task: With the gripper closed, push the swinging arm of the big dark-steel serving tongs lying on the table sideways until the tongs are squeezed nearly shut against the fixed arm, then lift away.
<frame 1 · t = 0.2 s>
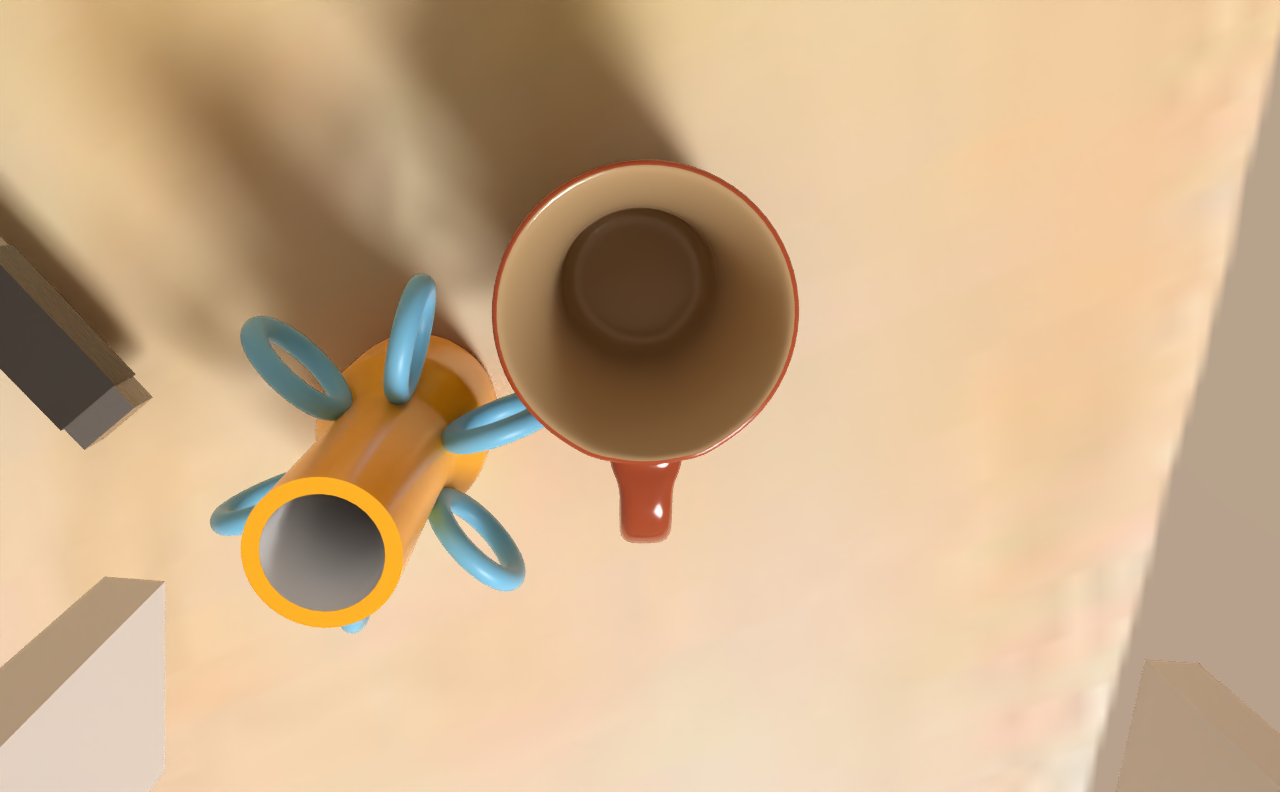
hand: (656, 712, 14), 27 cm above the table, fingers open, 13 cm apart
cylinder: (423, 407, 42), on the table
mug: (635, 315, 41), on the table
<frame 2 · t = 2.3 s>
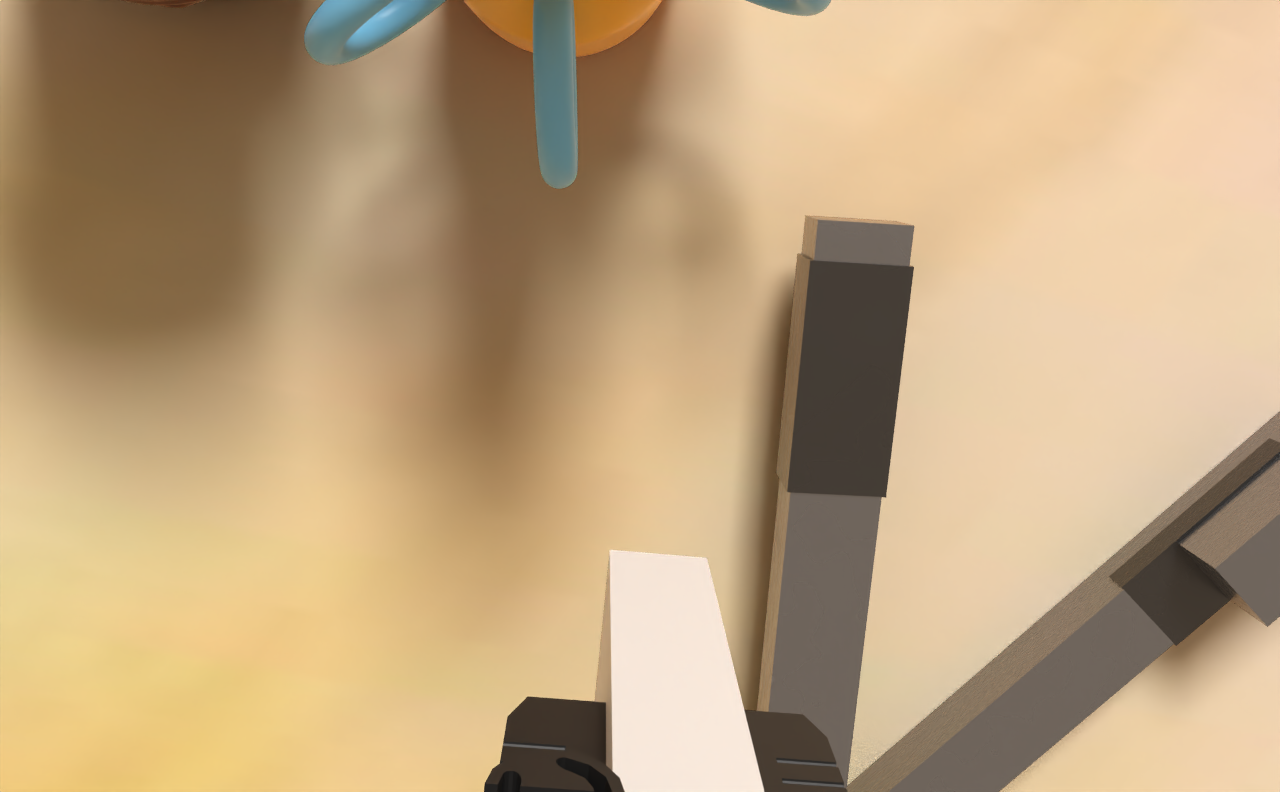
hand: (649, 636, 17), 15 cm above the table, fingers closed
tongs arm: (818, 589, 30), point 3 cm above the table, hinge at 42.0°
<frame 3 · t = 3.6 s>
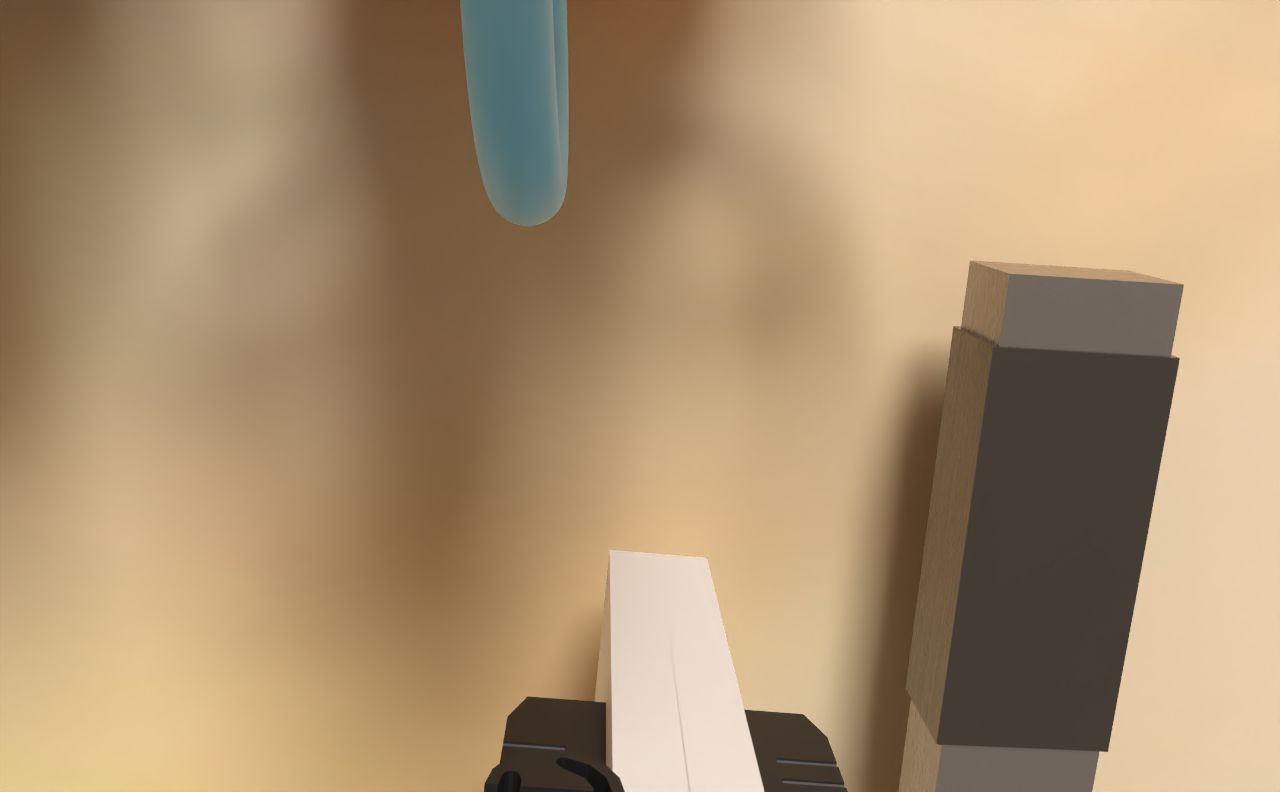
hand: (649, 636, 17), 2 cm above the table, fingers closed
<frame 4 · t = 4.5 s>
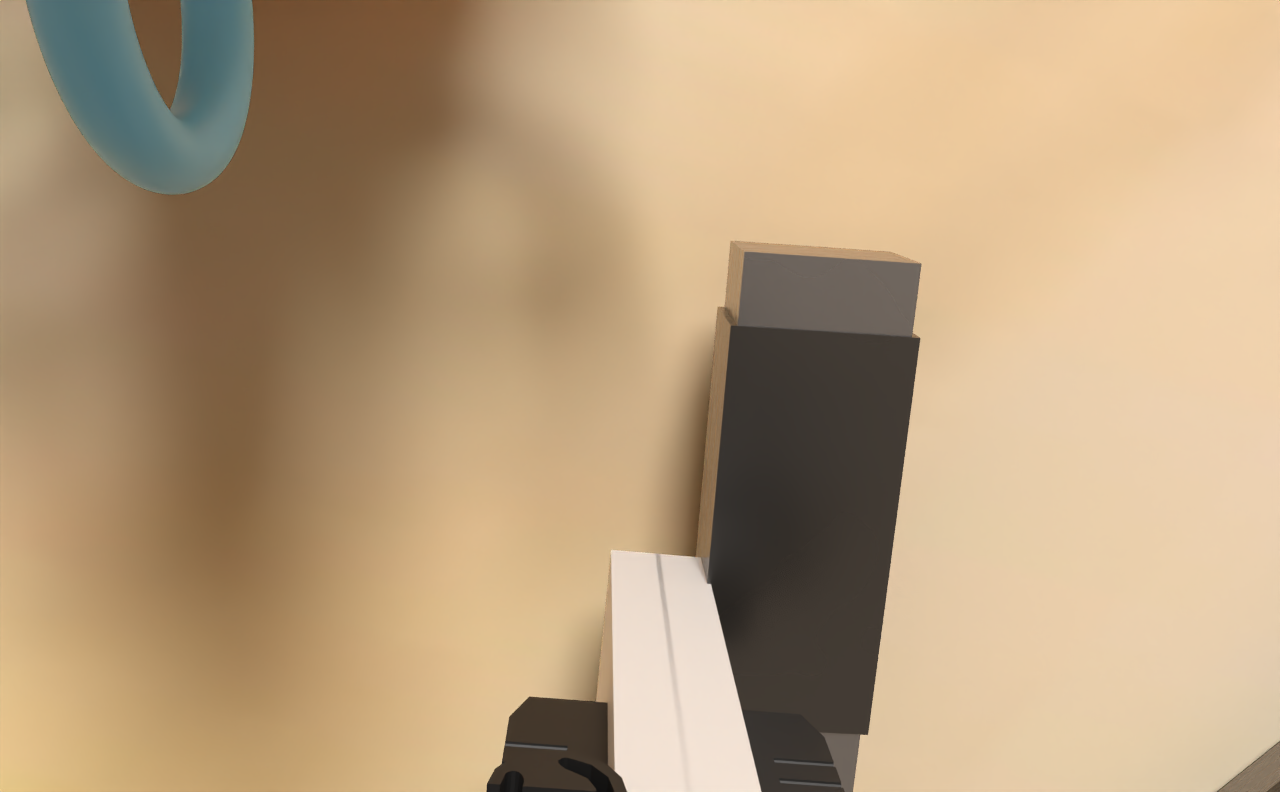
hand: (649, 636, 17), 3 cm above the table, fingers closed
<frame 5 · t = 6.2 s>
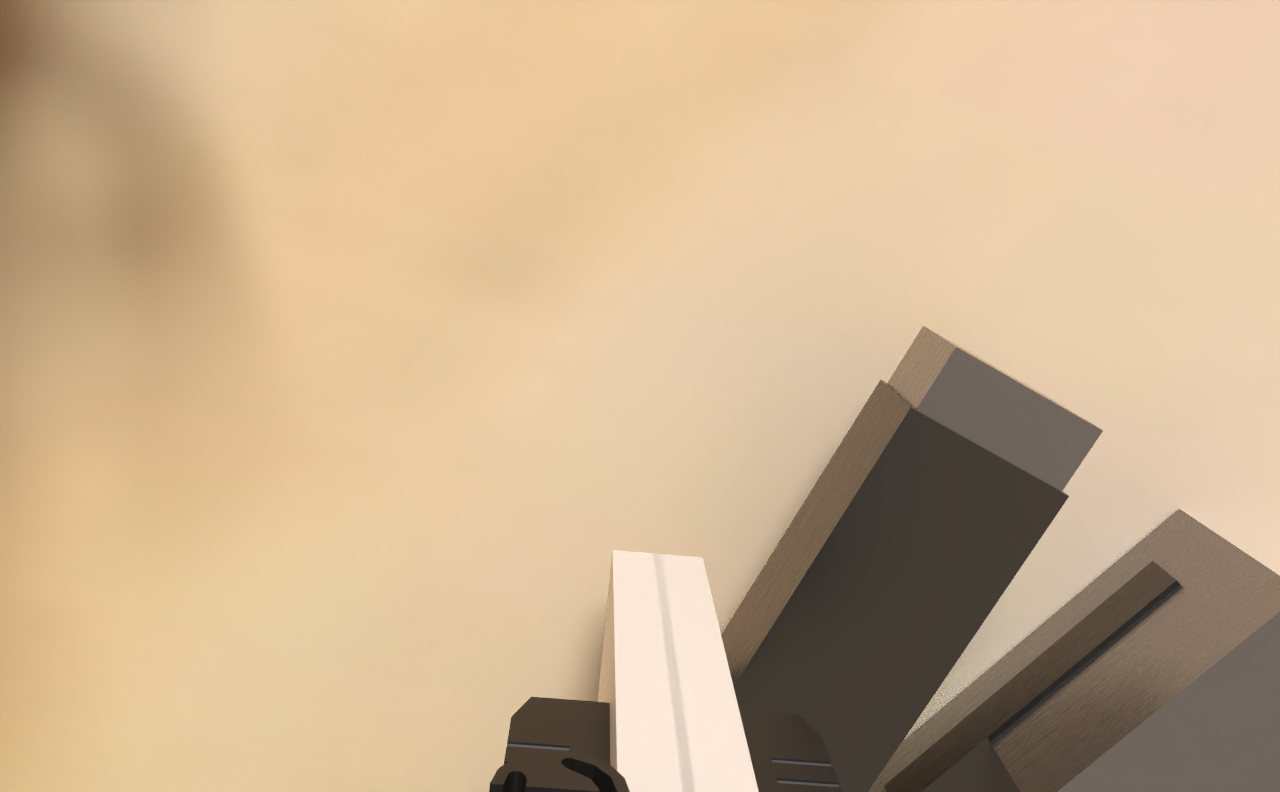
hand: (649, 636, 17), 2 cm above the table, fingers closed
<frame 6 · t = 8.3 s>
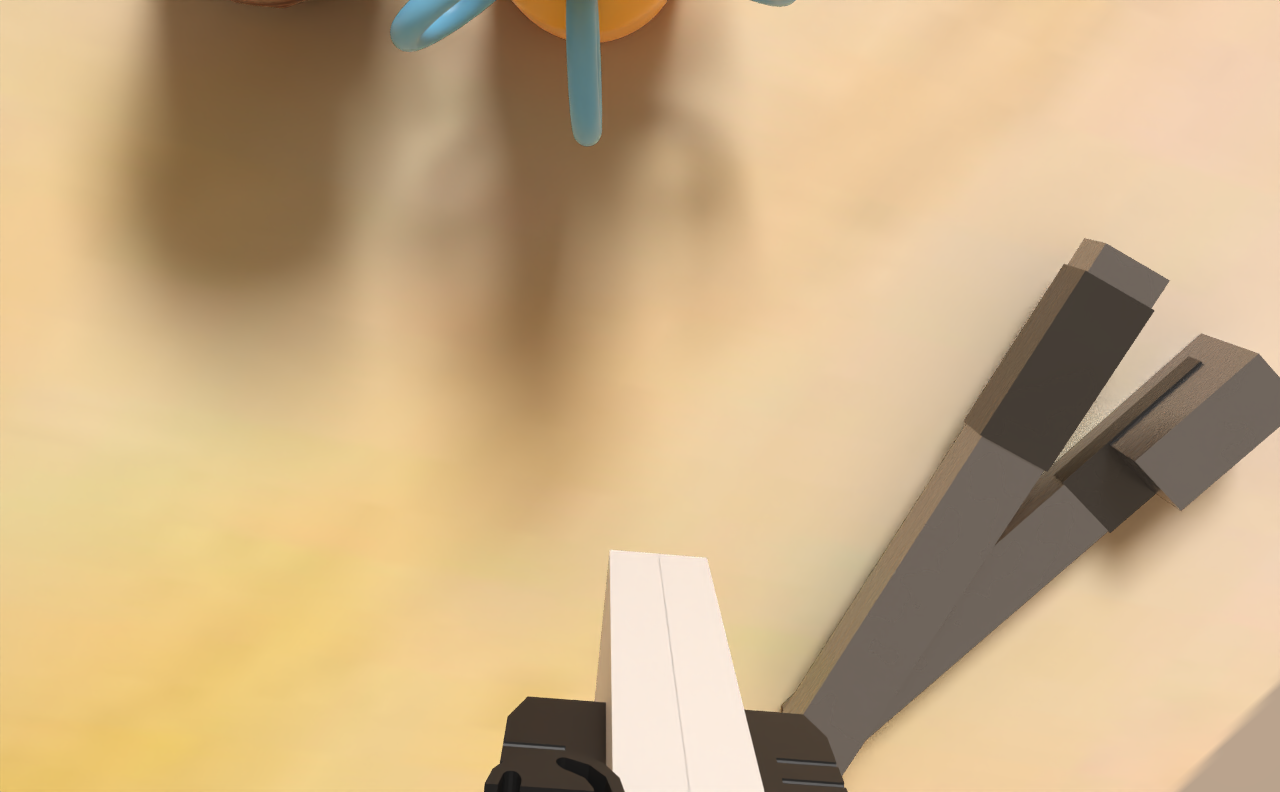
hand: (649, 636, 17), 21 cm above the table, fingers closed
tongs fixed: (765, 758, 41), on the table
tongs arm: (955, 521, 36), point 3 cm above the table, hinge at 16.3°
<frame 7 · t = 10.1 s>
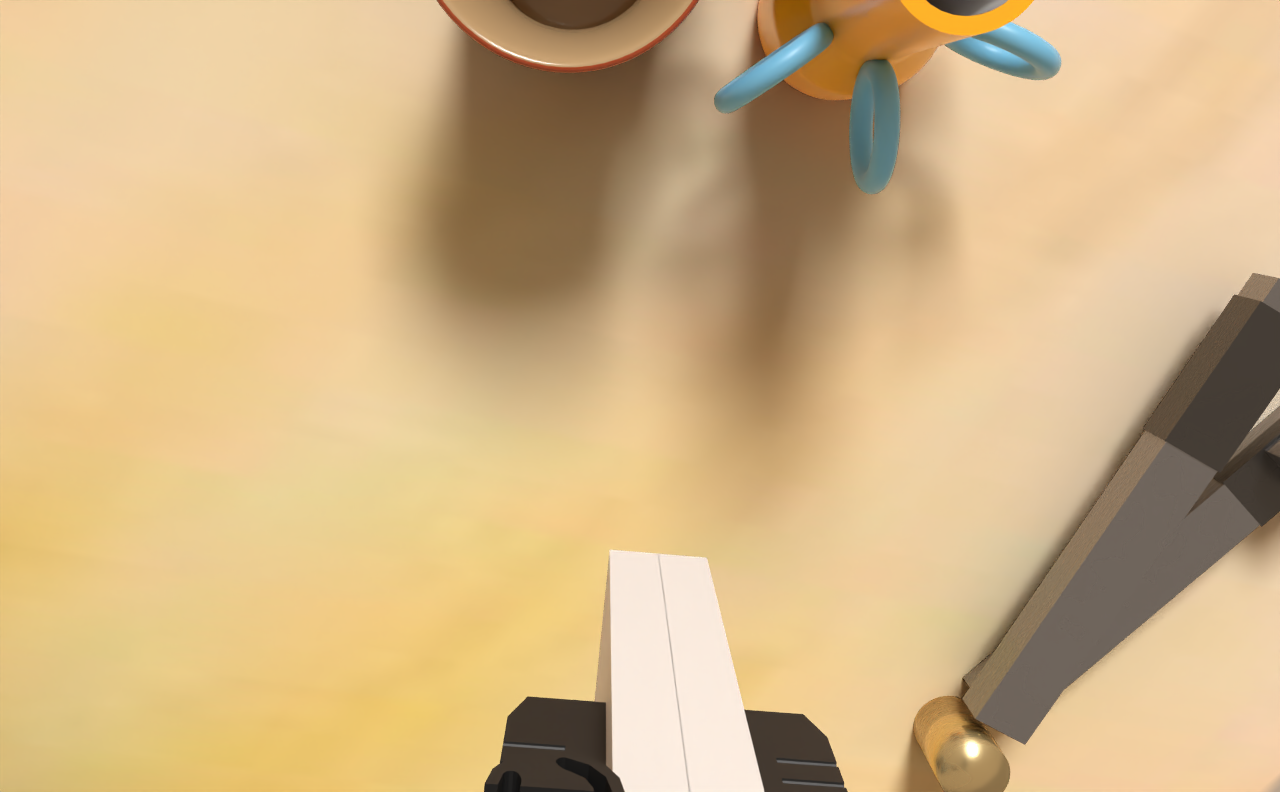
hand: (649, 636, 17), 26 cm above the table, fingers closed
cylinder: (834, 16, 40), on the table
tongs fixed: (945, 725, 47), on the table
tongs arm: (1135, 515, 42), point 3 cm above the table, hinge at 16.3°
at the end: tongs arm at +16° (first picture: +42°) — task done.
